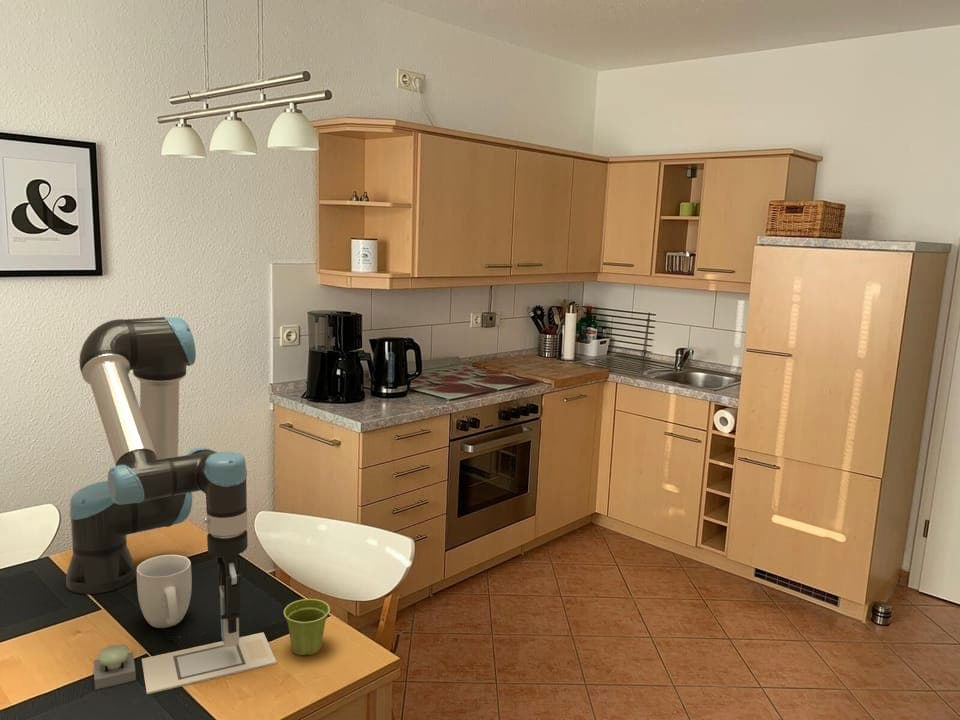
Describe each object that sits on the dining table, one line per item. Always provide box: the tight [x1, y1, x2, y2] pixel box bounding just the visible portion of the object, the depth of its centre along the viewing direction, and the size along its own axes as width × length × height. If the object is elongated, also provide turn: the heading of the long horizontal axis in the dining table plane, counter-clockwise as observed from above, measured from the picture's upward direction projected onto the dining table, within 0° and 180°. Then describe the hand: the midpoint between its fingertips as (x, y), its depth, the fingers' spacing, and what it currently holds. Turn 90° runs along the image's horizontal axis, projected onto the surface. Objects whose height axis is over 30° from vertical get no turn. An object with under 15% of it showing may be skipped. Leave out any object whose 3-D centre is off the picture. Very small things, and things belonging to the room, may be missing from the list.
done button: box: [98, 644, 130, 671], centre depth 144 cm, size 5×5×4 cm
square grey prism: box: [219, 585, 225, 643], centre depth 150 cm, size 3×3×12 cm
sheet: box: [141, 631, 278, 695], centre depth 150 cm, size 12×24×1 cm, turn 118°
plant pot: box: [283, 598, 331, 656], centre depth 155 cm, size 9×9×9 cm
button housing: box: [93, 651, 137, 691], centre depth 144 cm, size 7×7×2 cm
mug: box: [136, 554, 193, 629], centre depth 162 cm, size 15×11×13 cm
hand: (230, 640), depth 151 cm, fingers closed on square grey prism, 3 cm apart
